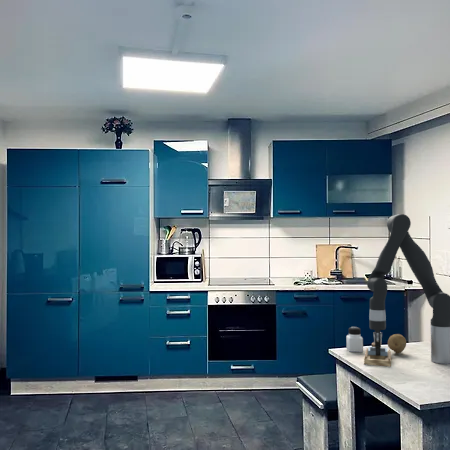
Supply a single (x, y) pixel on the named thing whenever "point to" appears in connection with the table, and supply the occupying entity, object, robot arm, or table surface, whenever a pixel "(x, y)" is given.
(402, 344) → the natural sponge
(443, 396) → the table surface
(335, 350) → the table surface
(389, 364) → the wooden tray
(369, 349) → the cover
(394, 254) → the robot arm
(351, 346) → the medicine bottle
